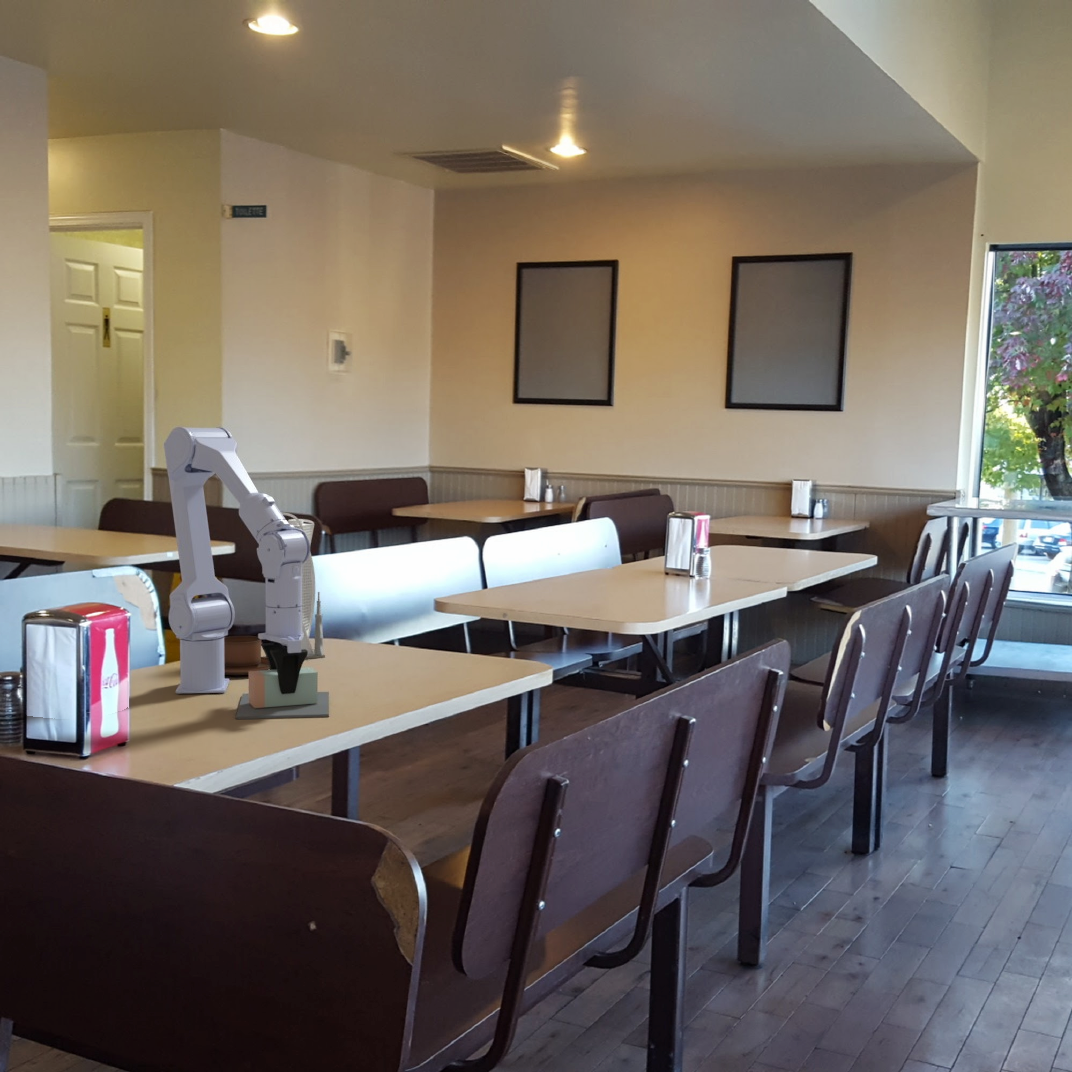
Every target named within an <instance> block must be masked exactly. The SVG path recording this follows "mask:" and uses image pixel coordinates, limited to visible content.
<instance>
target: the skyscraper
mask: <svg viewBox="0 0 1072 1072" xmlns="http://www.w3.org/2000/svg"><path fill="white" fill-rule="evenodd" d="M280 512H281V513H282V515H283V516H286V517H287V516H288V517H291V519H288V520H287V522H288V523H289V525H293V526H294V527H295V528H299V529H302V530H303V531H304V532H305V533H306V536H307V537H308V539H309V542H310V546H311V543H312V538H313V534H314V528H315V522H314V521H312V520H310V519H305V518H298V517H297V516H295V515H294V514H292V513H289V512H284V511H283V512H282V511H280ZM320 593H321V592H320V591H317V600H316V574H315V567H314V561H313V557H312V553H311V551H310V554H309V557H308V559H307V560H306V561H305V562H304V563H303V564H302V632H303V633H304V637H303V639H302V641H301V650H303V649H306V650H307V651H308V654H307V656H306V658H305V660H309V659H320V658H321V659H322V658H326V655H325V654H324V641H323V640H324V635H323V634H324V633H323V615H324V614H323V613H321V611H322V609H321V608H322V606H321V600H320V599H321V597H320V595H321V594H320ZM315 601H316V602H315ZM315 604H316V613H315V612H314V611H315ZM314 613H315V614H314ZM313 618H314V619H315V621H314V625H315V626H314V637H313V638H314V648H313V647H312V644H311V641H310V634H311V630H312V624H313Z"/></svg>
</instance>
